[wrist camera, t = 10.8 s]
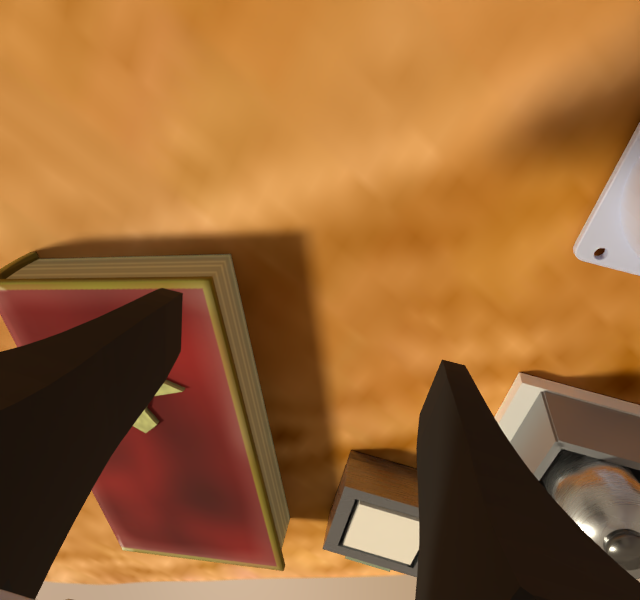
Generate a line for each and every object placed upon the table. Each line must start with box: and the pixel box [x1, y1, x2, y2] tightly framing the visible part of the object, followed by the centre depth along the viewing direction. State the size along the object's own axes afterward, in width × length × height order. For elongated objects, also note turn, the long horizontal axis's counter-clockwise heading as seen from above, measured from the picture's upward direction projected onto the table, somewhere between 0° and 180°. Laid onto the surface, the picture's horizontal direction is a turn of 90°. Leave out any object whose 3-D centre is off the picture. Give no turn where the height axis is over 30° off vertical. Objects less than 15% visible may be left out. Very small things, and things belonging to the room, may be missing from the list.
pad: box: [343, 500, 419, 565], centre depth 29 cm, size 4×4×1 cm
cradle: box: [323, 450, 419, 577], centre depth 30 cm, size 6×8×3 cm
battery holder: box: [494, 372, 640, 492], centre depth 25 cm, size 7×11×4 cm, turn 169°
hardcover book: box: [0, 252, 290, 571], centre depth 28 cm, size 12×21×4 cm, turn 6°
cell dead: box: [541, 449, 640, 579], centre depth 21 cm, size 4×4×6 cm
